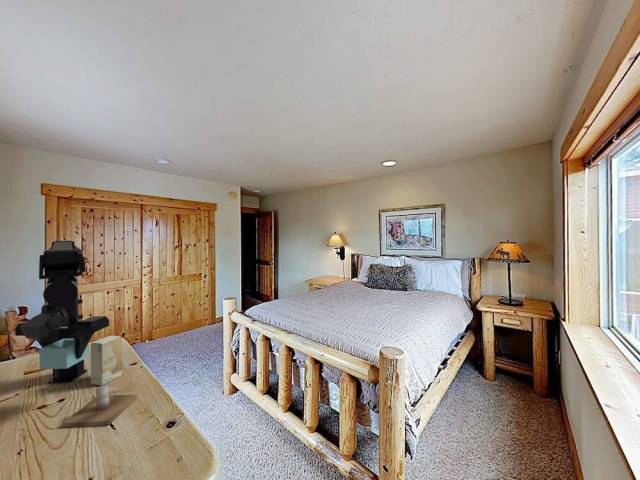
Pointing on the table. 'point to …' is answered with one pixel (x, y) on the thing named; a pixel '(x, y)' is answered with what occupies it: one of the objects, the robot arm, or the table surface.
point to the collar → (60, 355)
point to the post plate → (100, 415)
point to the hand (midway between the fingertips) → (65, 358)
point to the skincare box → (106, 360)
